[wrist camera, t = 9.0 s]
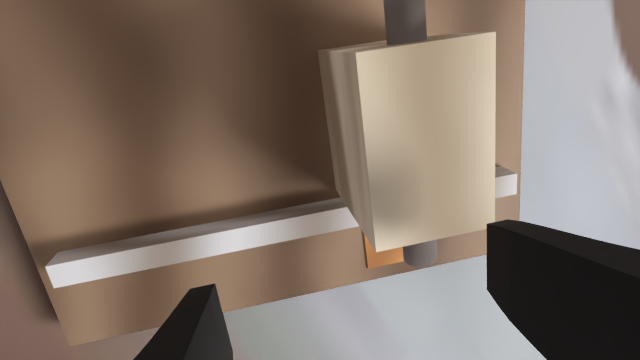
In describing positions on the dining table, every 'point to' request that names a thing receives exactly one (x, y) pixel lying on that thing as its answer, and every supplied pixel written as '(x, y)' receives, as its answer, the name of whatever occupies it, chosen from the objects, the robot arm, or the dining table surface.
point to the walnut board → (203, 149)
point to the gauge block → (413, 132)
